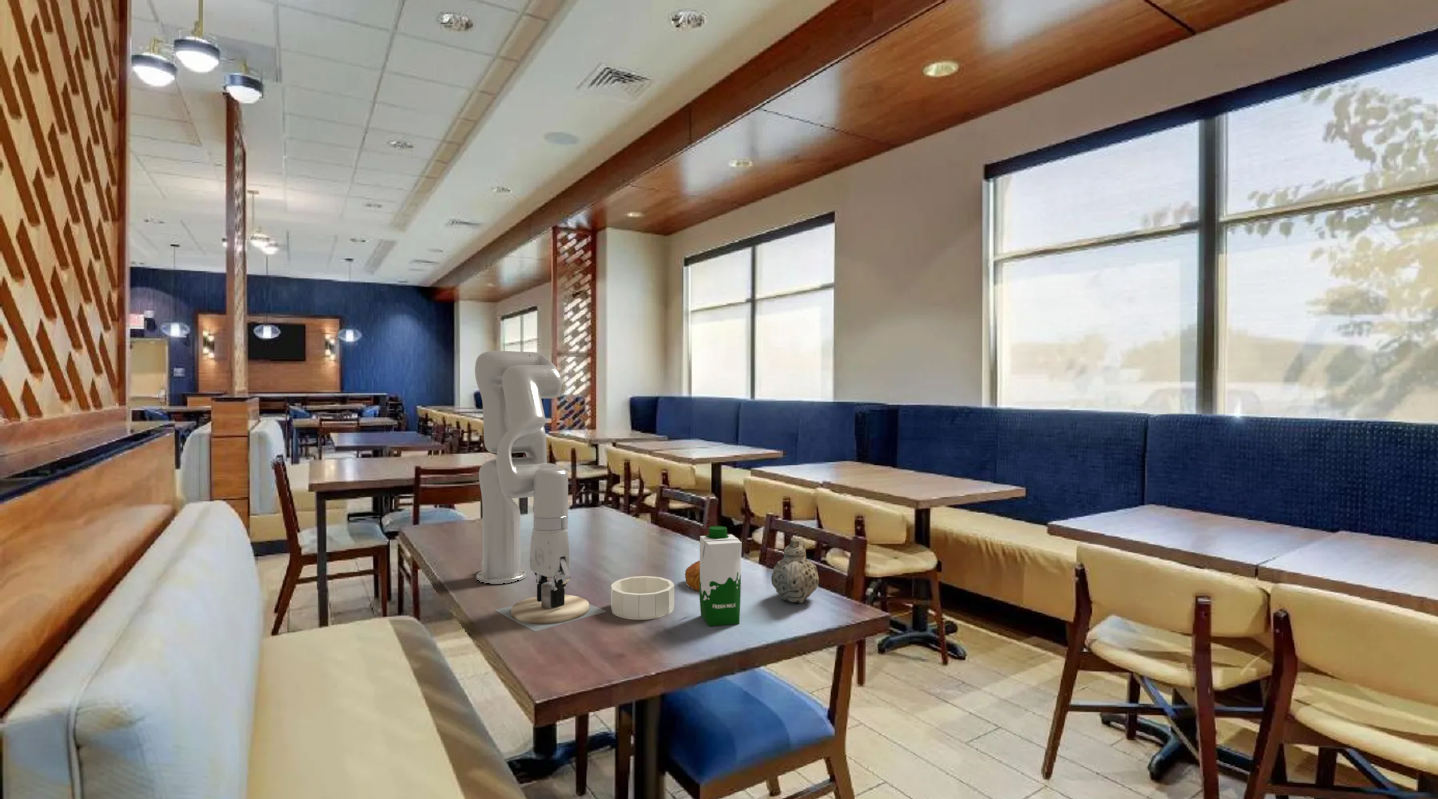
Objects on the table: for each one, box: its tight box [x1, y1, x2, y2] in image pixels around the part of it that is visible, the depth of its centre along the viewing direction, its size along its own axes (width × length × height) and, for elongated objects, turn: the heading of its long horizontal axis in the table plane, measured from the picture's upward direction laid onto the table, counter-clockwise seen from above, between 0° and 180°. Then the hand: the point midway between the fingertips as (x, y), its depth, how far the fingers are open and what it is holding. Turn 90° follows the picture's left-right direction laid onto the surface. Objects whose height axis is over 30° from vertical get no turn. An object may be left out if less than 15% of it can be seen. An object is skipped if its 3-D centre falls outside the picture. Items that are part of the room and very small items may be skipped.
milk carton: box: [698, 525, 743, 627], centre depth 150 cm, size 9×9×20 cm
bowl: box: [610, 575, 675, 621], centre depth 155 cm, size 14×14×6 cm
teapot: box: [770, 536, 820, 604], centre depth 165 cm, size 21×12×15 cm, turn 168°
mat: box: [494, 593, 608, 633], centre depth 154 cm, size 18×18×1 cm
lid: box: [511, 581, 590, 624], centre depth 153 cm, size 17×17×6 cm
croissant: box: [684, 560, 700, 592], centre depth 176 cm, size 14×16×8 cm
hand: (550, 602), depth 153 cm, fingers open, 5 cm apart
